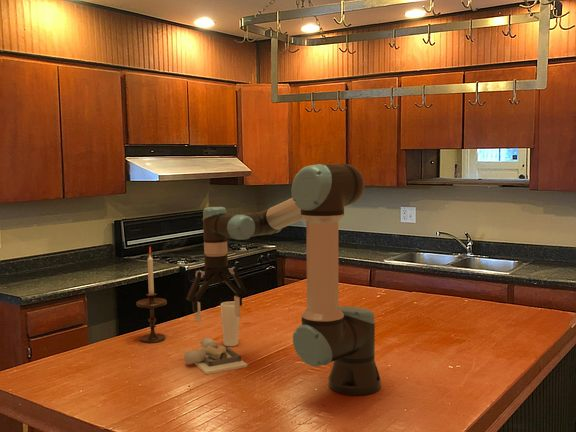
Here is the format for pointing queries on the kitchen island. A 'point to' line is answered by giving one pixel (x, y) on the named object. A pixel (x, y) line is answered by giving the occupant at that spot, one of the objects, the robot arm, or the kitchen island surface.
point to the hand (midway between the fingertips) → (218, 318)
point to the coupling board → (211, 364)
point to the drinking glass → (229, 324)
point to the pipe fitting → (216, 352)
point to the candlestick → (151, 306)
